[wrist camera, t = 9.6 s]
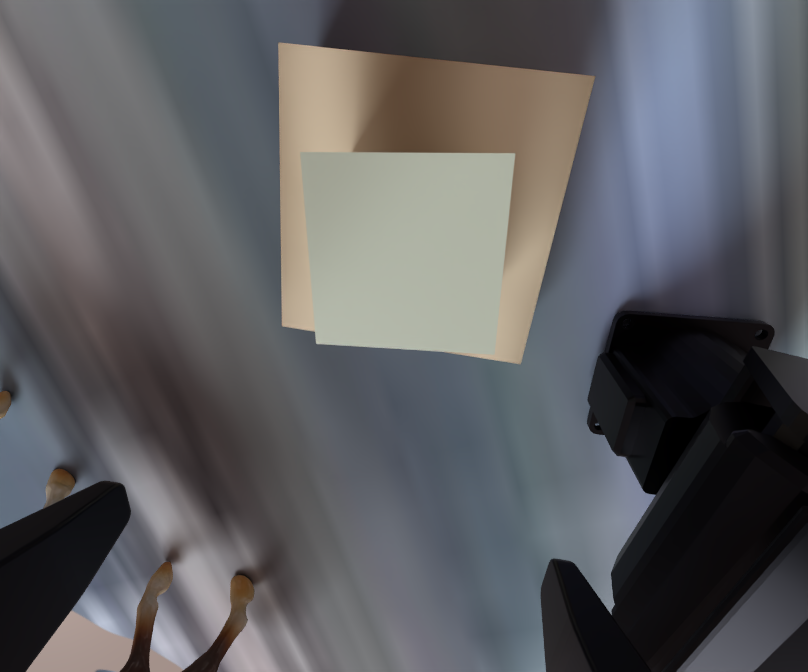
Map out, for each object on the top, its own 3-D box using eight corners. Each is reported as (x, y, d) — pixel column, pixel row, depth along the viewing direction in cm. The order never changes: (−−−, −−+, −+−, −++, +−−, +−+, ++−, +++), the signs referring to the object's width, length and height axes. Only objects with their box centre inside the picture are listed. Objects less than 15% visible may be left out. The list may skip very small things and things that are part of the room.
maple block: (566, 92, 16) (595, 76, 13) (510, 326, 20) (520, 364, 17) (318, 65, 17) (278, 42, 13) (313, 296, 21) (281, 326, 18)
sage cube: (497, 154, 14) (515, 153, 9) (485, 297, 16) (494, 354, 11) (351, 153, 14) (300, 152, 10) (357, 292, 16) (316, 343, 12)
